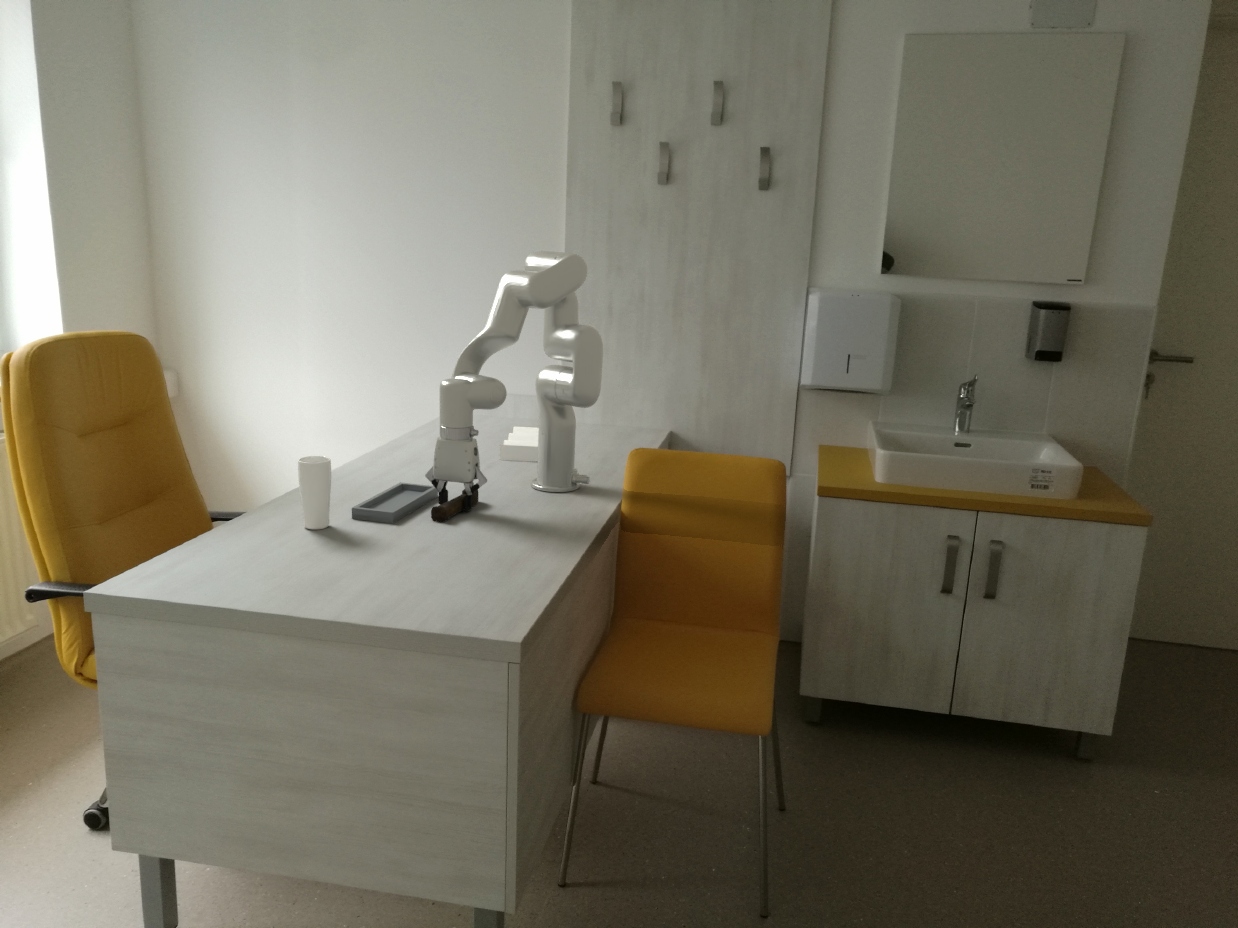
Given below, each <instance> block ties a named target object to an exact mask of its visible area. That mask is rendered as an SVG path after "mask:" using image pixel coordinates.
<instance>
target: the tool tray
mask: <svg viewBox="0 0 1238 928" xmlns="http://www.w3.org/2000/svg"><path fill="white" fill-rule="evenodd" d="M437 497H438V498H439V492H437V490H436V488H435V487H434V486H433V485H428V484H418V483H411V482H410V483H409V482H401V481H400V482H399V483H397V484H394V485H393V486H391V487H389V488H387V489H385V490H383V491H381V492H379V493H378V494H376V495H373V496H371V497H370V498H367V499H365V500H364V501H362V502H359V504H357V505H354V506H352V507H351V519H352V518H353V520H361V521H369V522H377V523H387V524H394V523H397V521H399V520H401V519H403V518H405V517H406V516H408V515H409V514H411V513H413V512H415V511H416V510H418V509H419V508H421V507H423V506H424V505H426V504H428V503H429V502H431V501H432V500H433V501H434V499H437Z"/></svg>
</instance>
